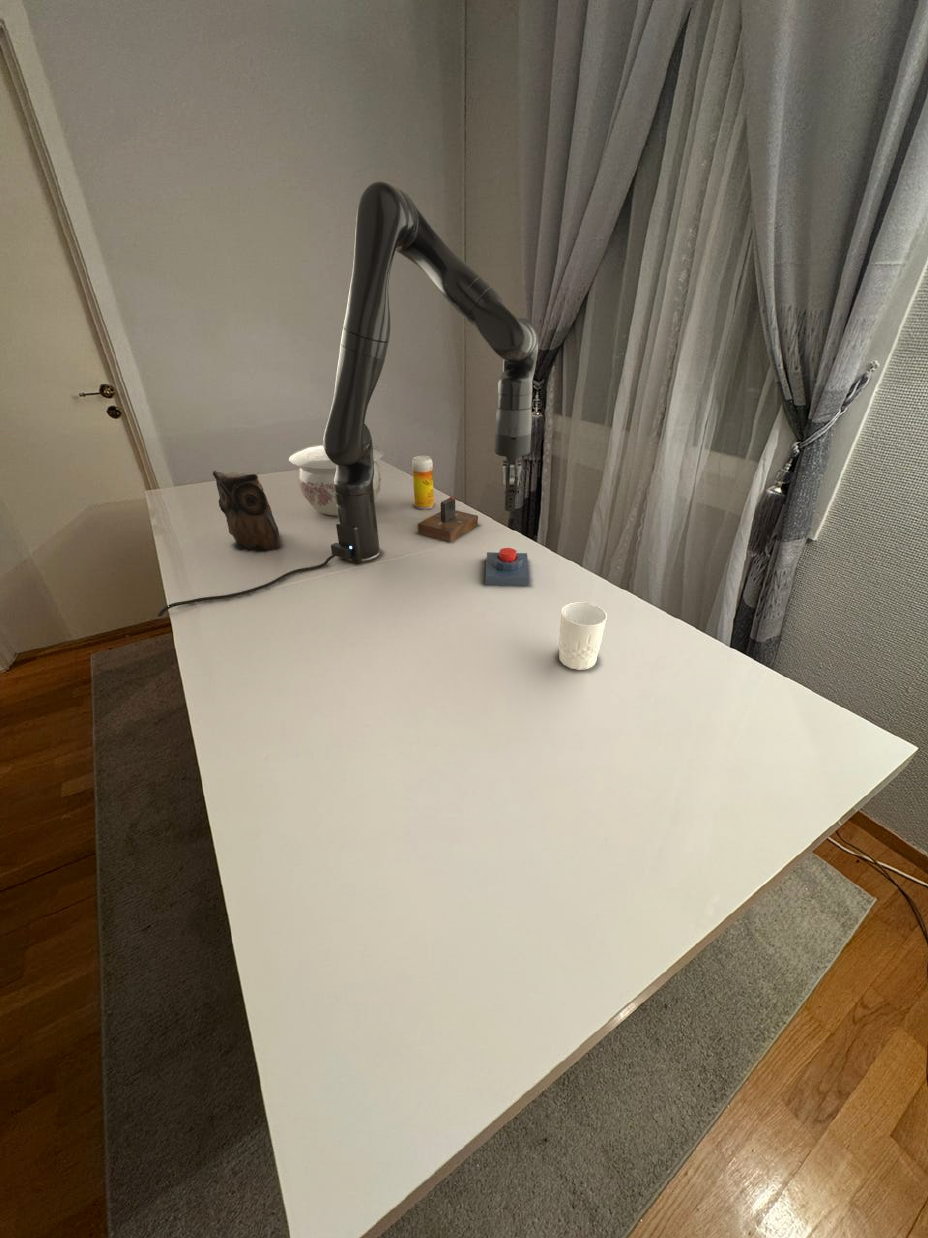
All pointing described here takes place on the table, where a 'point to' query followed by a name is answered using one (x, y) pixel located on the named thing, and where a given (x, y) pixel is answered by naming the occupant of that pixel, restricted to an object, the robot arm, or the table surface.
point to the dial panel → (448, 526)
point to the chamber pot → (324, 477)
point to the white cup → (581, 634)
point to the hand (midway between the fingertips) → (509, 509)
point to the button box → (507, 570)
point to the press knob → (507, 554)
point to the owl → (247, 511)
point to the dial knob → (448, 509)
